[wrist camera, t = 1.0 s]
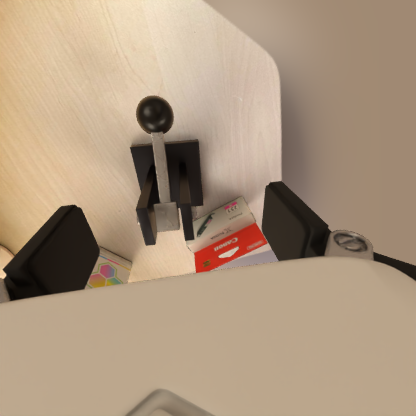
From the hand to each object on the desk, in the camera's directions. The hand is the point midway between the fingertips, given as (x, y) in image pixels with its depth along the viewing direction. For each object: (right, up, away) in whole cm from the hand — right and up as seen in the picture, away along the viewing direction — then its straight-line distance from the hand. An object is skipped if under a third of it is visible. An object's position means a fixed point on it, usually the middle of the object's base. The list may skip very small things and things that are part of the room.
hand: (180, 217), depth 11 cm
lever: (-3, +5, +12) cm, 13 cm away
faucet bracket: (-4, +5, +20) cm, 21 cm away
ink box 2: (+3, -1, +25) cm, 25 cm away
